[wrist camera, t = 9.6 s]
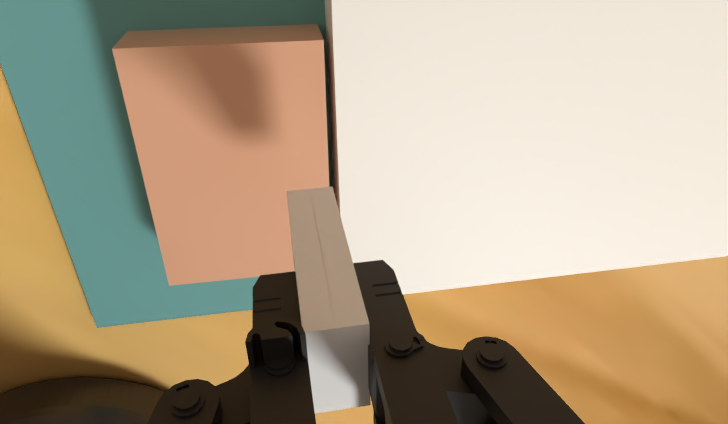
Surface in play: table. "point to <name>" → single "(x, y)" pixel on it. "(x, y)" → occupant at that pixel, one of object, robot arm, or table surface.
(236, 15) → the mat
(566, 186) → the panel
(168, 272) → the tile
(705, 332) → the table surface
